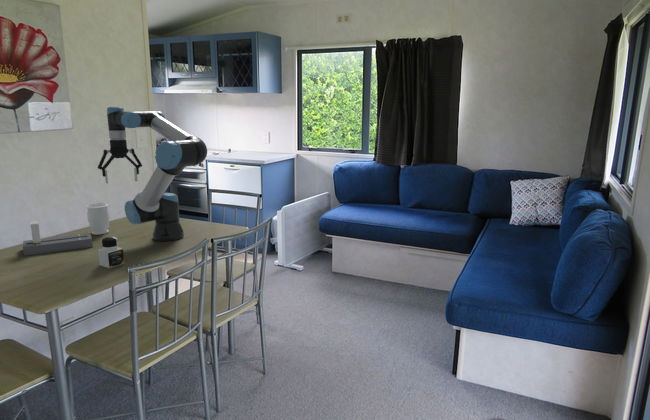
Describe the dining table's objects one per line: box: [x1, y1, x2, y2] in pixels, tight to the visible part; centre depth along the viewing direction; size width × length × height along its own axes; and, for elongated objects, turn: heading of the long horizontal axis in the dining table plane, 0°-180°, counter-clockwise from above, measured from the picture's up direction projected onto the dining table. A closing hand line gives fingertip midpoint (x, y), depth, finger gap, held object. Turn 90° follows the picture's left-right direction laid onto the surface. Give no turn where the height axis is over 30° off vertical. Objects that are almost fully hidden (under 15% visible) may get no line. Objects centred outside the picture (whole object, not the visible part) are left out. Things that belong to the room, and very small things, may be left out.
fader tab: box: [30, 220, 42, 243], centre depth 217 cm, size 3×6×11 cm, turn 31°
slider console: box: [22, 232, 94, 256], centre depth 223 cm, size 28×11×4 cm, turn 121°
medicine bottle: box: [97, 236, 125, 269], centre depth 200 cm, size 7×7×12 cm
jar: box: [86, 202, 111, 236], centre depth 247 cm, size 11×10×15 cm
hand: (121, 182), depth 235 cm, fingers open, 13 cm apart
